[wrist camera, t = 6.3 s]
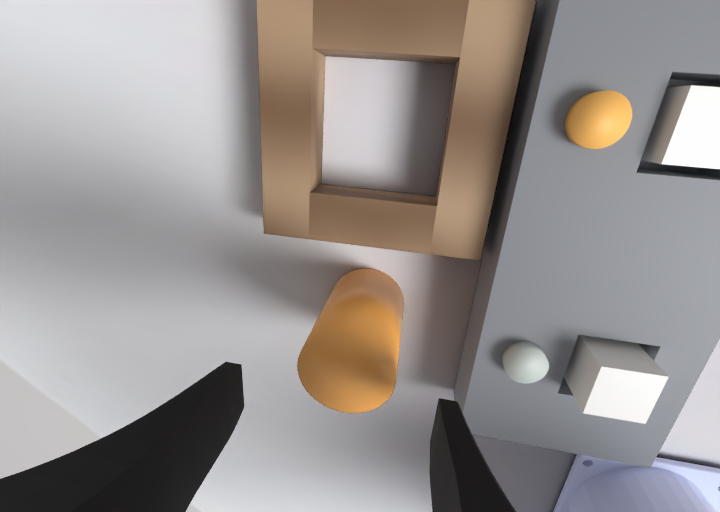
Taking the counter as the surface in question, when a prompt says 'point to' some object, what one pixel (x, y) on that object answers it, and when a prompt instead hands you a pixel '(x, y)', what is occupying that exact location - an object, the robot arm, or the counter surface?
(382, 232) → the frame
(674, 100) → the white cube
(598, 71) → the breaker panel
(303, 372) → the cap
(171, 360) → the counter surface
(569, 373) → the block
